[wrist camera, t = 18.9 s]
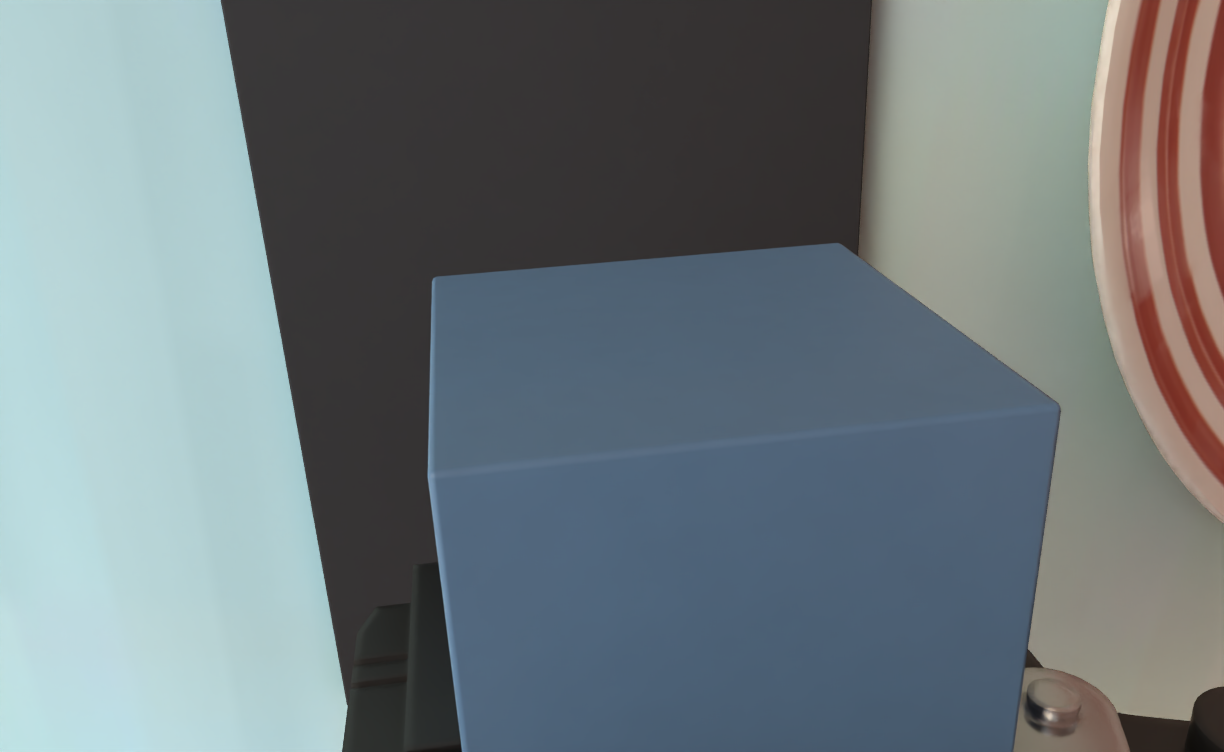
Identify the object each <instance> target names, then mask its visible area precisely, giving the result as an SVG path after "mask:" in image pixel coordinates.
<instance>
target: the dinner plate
mask: <svg viewBox="0 0 1224 752" xmlns="http://www.w3.org/2000/svg"><path fill="white" fill-rule="evenodd" d="M1088 197H1089V222H1090V235H1091V248H1092V258H1093V265H1094V271H1095V277H1096V282H1097V287H1098V292H1099V297H1100V303H1101V308H1102V313H1103V317H1104V321H1105V324H1106V328H1107V332H1108V335H1109V339H1110V342H1111V346H1112V349H1113V353H1114V357H1115V360H1116V362H1117V365H1118V368H1119V370H1120V373H1121V375H1122V378H1123V380H1124V383H1125V385H1126V388H1127V390H1128V392H1129V394H1130V396H1131V398H1132V401H1133V403H1134V405H1135V407H1136V409H1137V411H1138V413H1139V415H1140V417H1141V420H1142V422H1143V424H1144V426H1145V428H1146V430H1147V431H1148V433H1149V435H1150V436H1151V438H1152V440H1153V442H1154V443H1155V445H1156V447H1157V448H1158V450H1159V452H1160V453H1161V455H1162V456H1163V457H1164V459H1165V460H1166V462H1167V463H1168V464H1169V466H1170V467H1171V469H1172V470H1173V471H1174V473H1175V474H1176V475H1177V477H1178V478H1179V479H1180V480H1181V482H1182V483H1183V484H1184V485H1185V486H1186V488H1187V489H1188V490H1189V491H1190V492H1191V493H1192V494H1193V495H1194V496H1195V497H1196V498H1197V499H1198V500H1199V502H1200V503H1201V504H1202V505H1203V506H1204V507H1205V508H1206V509H1207V510H1208V511H1209V512H1210V513H1212V514H1213V515H1214V516H1215V517H1216V518H1217V519H1219V520H1220V521H1221V522H1222V523H1223V524H1224V0H1109V3H1108V7H1107V12H1106V17H1105V23H1104V28H1103V33H1102V39H1101V45H1100V52H1099V58H1098V65H1097V72H1096V78H1095V85H1094V91H1093V98H1092V104H1091V120H1090V137H1089V154H1088Z"/></svg>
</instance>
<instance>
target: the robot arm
mask: <svg viewBox="0 0 1224 752" xmlns="http://www.w3.org/2000/svg"><path fill="white" fill-rule="evenodd" d="M342 752H462V747H461V739H460V731H459V723H458V715H457V707H456V699H455V691H454V683H453V675H452V667H451V659H450V651H449V643H448V635H447V627H446V619H445V611H444V603H443V595H442V587H441V579H440V571H439V563H438V562H434V563H425V564H416V565H413V574H412V594H411V603H404V604H396V605H388V606H379V607H376V608H375V609H374V611H373V612H372V613H371V615H370V616H369V617H368V619H367V620H366V621H365V623H364V624H363V626H362V627H361V628H360V630H359V631H358V632H357V638H356V646H355V654H354V666H353V670H352V677H351V689H350V693H349V701H348V709H347V717H346V725H345V733H344V741H343V749H342ZM1013 752H1224V687H1217V688H1214V689H1210V690H1208V691H1206V692H1204V693H1202V694H1201V695H1200V696H1199V697H1198V698H1197V700H1196V701H1195V703H1194V707H1193V712H1192V716H1191V720H1190V721H1183V720H1173V719H1163V718H1153V717H1143V716H1134V715H1127V714H1121V713H1117V711H1116V709H1115V707H1114V705H1113V704H1112V703H1111V701H1110V700H1109V699H1108V698H1107V697H1106V696H1105V695H1104V694H1103V693H1102V692H1101V691H1100V690H1098V689H1097V688H1096V687H1094V686H1093V685H1091V684H1090V683H1088V682H1086V681H1084V680H1082V679H1080V678H1078V677H1076V676H1073V675H1071V674H1068V673H1065V672H1061V671H1057V670H1053V669H1047V668H1043V667H1042V665H1041V664H1040V663H1039V662H1038V660H1037V659H1036V658H1035V657H1034V656H1033V654H1032V653H1031V652H1030V651H1029V650H1027V657H1026V664H1025V671H1024V678H1023V685H1022V693H1021V700H1020V707H1019V714H1018V721H1017V728H1016V736H1015V743H1014V750H1013Z"/></svg>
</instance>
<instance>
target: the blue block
mask: <svg viewBox="0 0 1224 752" xmlns="http://www.w3.org/2000/svg"><path fill="white" fill-rule="evenodd" d="M1060 414H1061V409H1060V406H1059V404H1058V403H1057V402H1056V401H1054V400H1053V399H1052V398H1050V397H1049V396H1048V395H1046V394H1045V393H1043V392H1042V391H1041V390H1039V389H1038V388H1037V387H1035V386H1034V385H1033V384H1031V383H1030V382H1028V381H1027V380H1026V379H1024V378H1023V377H1022V376H1020V375H1019V374H1018V373H1016V372H1015V371H1013V370H1012V369H1011V368H1009V367H1008V366H1007V365H1005V364H1004V363H1003V362H1001V361H1000V360H998V359H997V358H996V357H994V356H993V355H992V354H990V353H989V352H988V351H986V350H985V349H983V348H982V347H981V346H979V345H978V344H977V343H975V342H974V341H973V340H971V339H970V338H968V337H967V336H966V335H964V334H963V333H962V332H960V331H959V330H958V329H956V328H955V327H953V326H952V325H951V324H949V323H948V322H947V321H945V320H944V319H943V318H941V317H940V316H938V315H937V314H936V313H934V312H933V311H932V310H930V309H929V308H928V307H926V306H925V305H923V304H922V303H921V302H919V301H918V300H917V299H915V298H914V297H913V296H911V295H910V294H908V293H907V292H906V291H904V290H903V289H902V288H900V287H899V286H898V285H896V284H895V283H893V282H892V281H891V280H889V279H888V278H887V277H885V276H884V275H883V274H881V273H880V272H878V271H877V270H876V269H874V268H873V267H872V266H870V265H869V264H868V263H866V262H865V261H863V260H862V259H861V258H859V257H858V256H857V255H855V254H854V253H853V252H851V251H850V250H848V249H847V248H846V247H844V246H843V245H842V244H839V243H831V244H819V245H807V246H795V247H783V248H771V249H759V250H747V251H736V252H724V253H712V254H700V255H688V256H676V257H664V258H653V259H641V260H629V261H617V262H605V263H593V264H581V265H570V266H558V267H546V268H534V269H522V270H510V271H498V272H487V273H475V274H463V275H451V276H439V277H435V278H433V281H432V305H431V350H430V395H429V440H428V483H429V491H430V499H431V507H432V515H433V523H434V531H435V539H436V547H437V555H438V563H439V571H440V579H441V587H442V595H443V603H444V611H445V619H446V627H447V635H448V643H449V651H450V659H451V667H452V675H453V683H454V691H455V699H456V707H457V715H458V723H459V731H460V739H461V747H462V752H1013V750H1014V743H1015V736H1016V728H1017V721H1018V714H1019V707H1020V700H1021V693H1022V685H1023V678H1024V671H1025V664H1026V657H1027V650H1028V643H1029V635H1030V628H1031V621H1032V614H1033V607H1034V600H1035V593H1036V585H1037V578H1038V571H1039V564H1040V557H1041V550H1042V542H1043V535H1044V528H1045V521H1046V514H1047V507H1048V500H1049V492H1050V485H1051V478H1052V471H1053V464H1054V457H1055V449H1056V442H1057V435H1058V428H1059V421H1060Z"/></svg>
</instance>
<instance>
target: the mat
mask: <svg viewBox="0 0 1224 752" xmlns="http://www.w3.org/2000/svg"><path fill="white" fill-rule="evenodd" d="M221 4H222V9H223V15H224V21H225V26H226V32H227V37H228V43H229V48H230V54H231V60H232V65H233V71H234V76H235V82H236V88H237V93H238V99H239V104H240V110H241V115H242V121H243V127H244V132H245V138H246V143H247V149H248V154H249V160H250V166H251V171H252V177H253V182H254V188H255V194H256V199H257V205H258V210H259V216H260V221H261V227H262V233H263V238H264V244H265V249H266V255H267V261H268V266H269V272H270V277H271V283H272V288H273V294H274V300H275V305H276V311H277V316H278V322H279V328H280V333H281V339H282V344H283V350H284V355H285V361H286V367H287V372H288V378H289V383H290V389H291V395H292V400H293V406H294V411H295V417H296V422H297V428H298V434H299V439H300V445H301V450H302V456H303V462H304V467H305V473H306V478H307V484H308V489H309V495H310V501H311V506H312V512H313V517H314V523H315V529H316V534H317V540H318V545H319V551H320V556H321V562H322V568H323V573H324V579H325V584H326V590H327V596H328V601H329V607H330V612H331V618H332V623H333V629H334V635H335V640H336V646H337V651H338V657H339V663H340V668H341V674H342V679H343V685H344V690H345V696H346V702H347V705H348V701H349V693H350V689H351V677H352V670H353V666H354V654H355V646H356V638H357V632H358V631H359V630H360V628H361V627H362V626H363V624H364V623H365V621H366V620H367V619H368V617H369V616H370V615H371V613H372V612H373V611H374V609H375V608H376V607H379V606H388V605H396V604H404V603H411V594H412V574H413V565H416V564H425V563H434V562H438V555H437V547H436V539H435V531H434V523H433V515H432V507H431V499H430V491H429V483H428V440H429V395H430V350H431V305H432V281H433V278H435V277H439V276H451V275H463V274H475V273H487V272H498V271H510V270H522V269H534V268H546V267H558V266H570V265H581V264H593V263H605V262H617V261H629V260H641V259H653V258H664V257H676V256H688V255H700V254H712V253H724V252H736V251H747V250H759V249H771V248H783V247H795V246H807V245H819V244H831V243H839V244H842V245H843V246H844V247H846V248H847V249H848V250H850V251H851V252H853V253H854V254H855V255H857V256H858V245H859V227H860V208H861V190H862V171H863V153H864V135H865V116H866V98H867V80H868V61H869V43H870V24H871V6H872V0H221Z"/></svg>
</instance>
